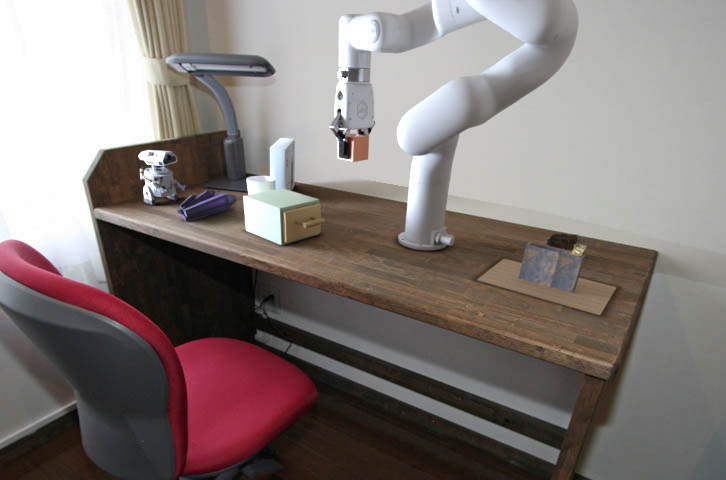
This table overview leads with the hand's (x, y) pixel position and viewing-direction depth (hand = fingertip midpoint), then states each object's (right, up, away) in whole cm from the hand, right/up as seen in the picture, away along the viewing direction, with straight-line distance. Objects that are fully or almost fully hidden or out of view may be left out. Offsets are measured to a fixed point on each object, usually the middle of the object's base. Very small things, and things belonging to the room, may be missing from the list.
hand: (352, 156), depth 121 cm
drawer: (-15, -20, -1) cm, 25 cm away
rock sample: (+53, -25, -2) cm, 59 cm away
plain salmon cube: (0, -1, 0) cm, 1 cm away
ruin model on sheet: (+42, -35, -20) cm, 58 cm away
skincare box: (-23, +1, +36) cm, 43 cm away
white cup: (-26, -11, +15) cm, 32 cm away
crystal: (-41, -12, +14) cm, 45 cm away
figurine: (-57, -6, +21) cm, 61 cm away
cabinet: (-18, -19, +2) cm, 27 cm away
